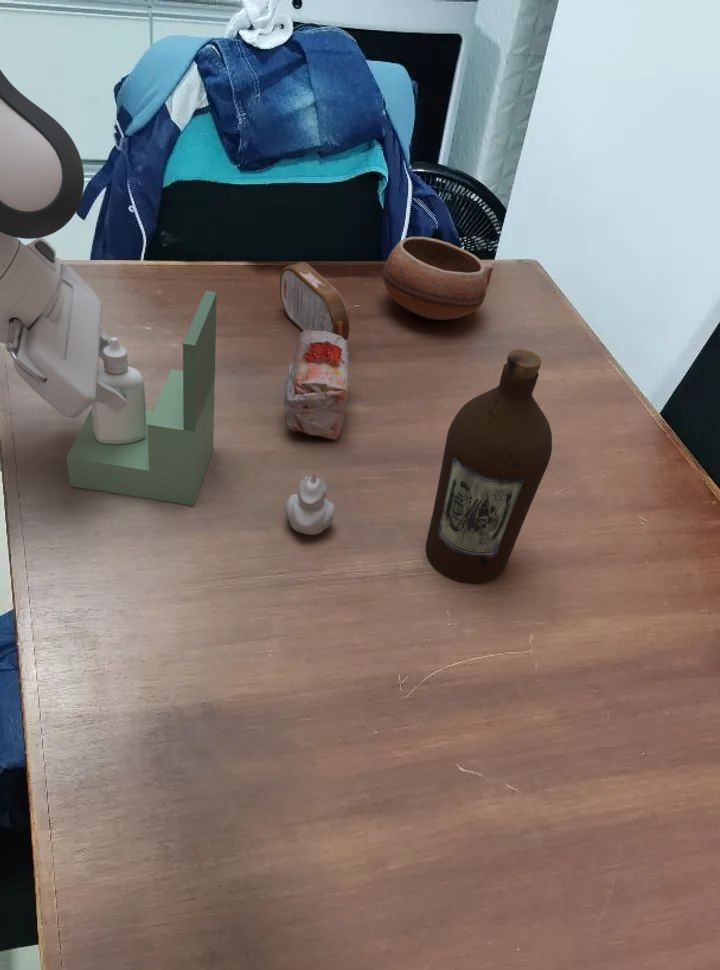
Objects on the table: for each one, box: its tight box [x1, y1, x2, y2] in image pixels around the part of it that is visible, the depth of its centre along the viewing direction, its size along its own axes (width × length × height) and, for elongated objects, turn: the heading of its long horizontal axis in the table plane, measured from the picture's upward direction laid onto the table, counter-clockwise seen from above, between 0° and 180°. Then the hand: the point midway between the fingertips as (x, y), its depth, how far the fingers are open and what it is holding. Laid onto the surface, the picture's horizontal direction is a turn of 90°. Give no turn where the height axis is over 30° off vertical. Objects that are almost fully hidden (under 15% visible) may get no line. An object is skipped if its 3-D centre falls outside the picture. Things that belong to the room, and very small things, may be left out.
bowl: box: [382, 236, 494, 321], centre depth 137 cm, size 16×16×10 cm
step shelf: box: [66, 290, 218, 507], centre depth 99 cm, size 14×11×20 cm
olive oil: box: [425, 348, 553, 584], centre depth 94 cm, size 11×11×25 cm
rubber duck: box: [285, 472, 336, 536], centre depth 100 cm, size 5×7×8 cm
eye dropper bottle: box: [91, 336, 147, 444], centre depth 99 cm, size 4×6×12 cm
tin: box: [279, 261, 351, 341], centre depth 129 cm, size 15×3×8 cm, turn 34°
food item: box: [284, 330, 350, 441], centre depth 115 cm, size 14×8×10 cm, turn 1°
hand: (123, 387), depth 99 cm, fingers open, 5 cm apart
